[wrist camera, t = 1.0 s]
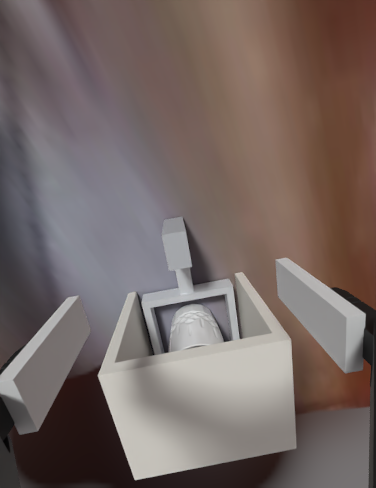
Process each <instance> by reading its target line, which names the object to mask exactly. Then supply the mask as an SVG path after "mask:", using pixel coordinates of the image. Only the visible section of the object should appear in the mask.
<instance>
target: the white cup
mask: <svg viewBox="0 0 376 488" xmlns="http://www.w3.org/2000/svg"><path fill="white" fill-rule="evenodd" d="M223 342H224V340H223V337H222V334H221V332H220V330H219V327H218V325H217V323H216V321H215V319H214V316H213V315H212V313H211V311H210V310H209V309H208V308H206V307H205V306H203V305H200V304H189V305H185V306H183V307H181V308H180V309H179V310H178V311H177V312H176V313H175V315H174V317H173V319H172V328H171V333H170V341H169V353H170V352H175V351H180V350H185V349H191V348H196V347H201V346H207V345H212V344H217V343H223Z"/></svg>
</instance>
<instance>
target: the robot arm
mask: <svg viewBox="0 0 376 488" xmlns="http://www.w3.org/2000/svg"><path fill="white" fill-rule="evenodd" d="M276 274H277V289H278V297H279V298H280V299H281V300H282V302H283V303H284V304H285V305H286V306H287V307H288V308H289V310H290V311H291V312H292V313H293V314H294V315H295V317H296V318H297V319H298V320H299V321H300V322H301V323H302V325H303V326H304V327H305V328H306V329H307V330H308V331H309V333H310V334H311V335H312V336H313V337H314V338H315V339H316V341H317V342H318V343H319V344H320V345H321V346H322V347H323V349H324V350H325V351H326V352H327V353H328V354H329V355H330V357H331V358H332V359H333V360H334V361H335V362H336V363H337V365H338V366H339V367H340V368H341V369H342V370H343V371H344V373H349V372H355V371H360V370H363V358H364V359H365V360H366V361H367V362H368V363H369V364H370V365H371V378H370V387H371V391H370V442H369V488H376V310H374V309H373V308H371V307H370V306H368V305H367V304H365V303H364V302H361V300H359V299H358V298H356V297H354V296H353V295H352V294H350V293H349V292H347V291H345V290H342V289H339V288H337V287H334V288H329V287H327V286H326V285H324V284H323V283H322V282H320V281H319V280H317V279H316V278H315V277H313V276H312V275H310V274H309V273H308V272H306V271H305V270H303V269H302V268H301V267H299V266H298V265H296V264H295V263H294V262H292V261H291V260H289V259H288V258H282V259H277V260H276ZM90 332H91V329H90V326H89V323H88V320H87V317H86V314H85V311H84V308H83V305H82V302H81V299H80V296H74V297H68V298H67V299H66V300H65V301H64V302H63V304H62V305H61V306H60V307H59V308H58V309H57V310H56V312H55V313H54V314H53V315H52V316H51V317H50V318H49V320H48V321H47V322H46V323H45V324H44V325H43V327H42V328H41V329H40V330H39V331H38V332H37V333H36V335H35V336H34V337H33V338H32V339H31V340H30V341H29V343H28V344H27V345H24V346H23V347H22V348H20V349H19V350H18V351H17V352H15V353H14V354H13V355H12V356H11V357H10V359H9V360H8V361H7V363H5V364H4V365H3V366H2V368H1V370H0V488H21V487H20V482H19V477H18V472H17V467H16V461H15V457H14V452H13V446H12V441H11V439H10V437H9V435H8V433H9V432H10V430H11V428H12V427H13V425H15V427H16V428H17V430H18V432H19V434H20V435H21V434H26V433H31V432H36V431H38V430H39V428H40V426H41V424H42V423H43V421H44V419H45V417H46V415H47V413H48V411H49V409H50V407H51V406H52V404H53V402H54V400H55V398H56V396H57V394H58V392H59V391H60V389H61V387H62V385H63V383H64V381H65V379H66V377H67V375H68V374H69V372H70V370H71V368H72V366H73V364H74V362H75V360H76V358H77V357H78V355H79V353H80V351H81V349H82V347H83V345H84V343H85V342H86V340H87V338H88V336H89V334H90Z"/></svg>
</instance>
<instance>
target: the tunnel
mask: <svg viewBox="0 0 376 488" xmlns="http://www.w3.org/2000/svg"><path fill="white" fill-rule="evenodd" d="M235 282H236V290H237V298H238V307H239V315H240V323H241V331H242V339H238V340H233V341H228V342H223V343H217V344H212V345H207V346H201V347H196V348H191V349H185V350H180V351H175V352H170V353H164V354H159V355H154V356H153V353H152V350H151V346H150V342H149V338H148V334H147V330H146V326H145V323H144V319H143V315H142V311H141V307H140V303H139V300H138V296H137V292H132V293H128V296H127V299H126V301H125V304H124V307H123V309H122V312H121V315H120V318H119V320H118V323H117V326H116V328H115V331H114V334H113V336H112V339H111V342H110V344H109V347H108V350H107V353H106V355H105V358H104V361H103V363H102V366H101V369H100V371H99V374H98V378H99V380H100V383H101V386H102V389H103V392H104V395H105V397H106V400H107V403H108V406H109V409H110V411H111V414H112V417H113V420H114V423H115V426H116V428H117V431H118V434H119V437H120V440H121V443H122V445H123V448H124V451H125V454H126V457H127V459H128V462H129V465H130V468H131V470H132V474H133V476H134V479H135V480H138V479H143V478H148V477H154V476H158V475H163V474H169V473H174V472H179V471H184V470H189V469H194V468H200V467H205V466H210V465H215V464H219V463H224V462H230V461H235V460H240V459H245V458H250V457H255V456H261V455H265V454H271V453H276V452H281V451H286V450H291V449H296V448H297V447H296V427H295V406H294V387H293V367H292V348H291V338H290V337H289V336H288V334H287V333H286V332H285V330H284V329H283V327H282V326H281V325H280V323H279V322H278V321H277V319H276V318H275V316H274V315H273V314H272V312H271V311H270V310H269V308H268V307H267V305H266V304H265V303H264V301H263V300H262V299H261V297H260V296H259V294H258V293H257V292H256V290H255V289H254V288H253V286H252V285H251V283H250V282H249V281H248V279H247V278H246V277H245V275H244V274H243V272H240V273H235Z"/></svg>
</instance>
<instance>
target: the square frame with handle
mask: <svg viewBox="0 0 376 488" xmlns="http://www.w3.org/2000/svg"><path fill="white" fill-rule="evenodd" d="M162 239H163V244H164V249H165V254H166V259H167V263H168V268H169V271H172V270H175V271H176V276H177V281H178V286H179V288H175V289H170V290H164V291H159V292H154V293H148V294H143V299H142V307H143V311H144V315H145V319H146V323H147V327H148V331H149V334H150V338H151V342H152V346H153V350H154V354H155V355H159V354H164V348H163V344H162V340H161V336H160V332H159V328H158V324H157V320H156V315H155V311H154V307H158V306H163V305H169V304H174V303H179V302H185V301H190V300H195V299H201V298H206V297H212V296H217V295H222V294H224V296H225V303H226V310H227V317H228V324H229V331H230V338H231V341H233V340H238V339H240V338H239V330H238V322H237V314H236V306H235V298H234V290H233V285H232V283H231V282H230V280H229V279H224V280H218V281H213V282H208V283H202V284H197V285H193V283H192V278H191V272H190V267H192V263H191V257H190V252H189V246H188V240H187V235H186V230H185V226H184V222H183V217H177V218H172V219H166V220H164V224H163V230H162Z"/></svg>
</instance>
